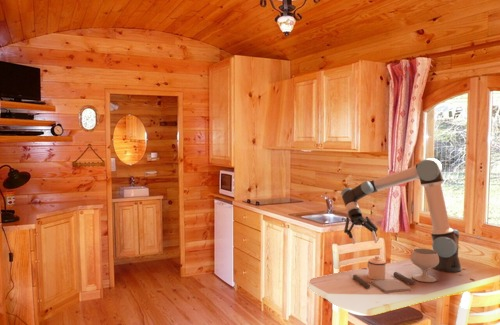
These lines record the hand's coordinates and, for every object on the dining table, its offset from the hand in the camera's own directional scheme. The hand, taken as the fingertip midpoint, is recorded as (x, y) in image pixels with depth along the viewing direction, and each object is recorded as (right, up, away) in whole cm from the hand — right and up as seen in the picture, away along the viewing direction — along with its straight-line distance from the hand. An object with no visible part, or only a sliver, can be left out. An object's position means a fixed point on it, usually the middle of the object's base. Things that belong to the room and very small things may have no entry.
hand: (365, 242), depth 233 cm
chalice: (+28, -17, -13) cm, 35 cm away
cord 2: (+16, -17, -14) cm, 27 cm away
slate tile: (+6, -18, -24) cm, 30 cm away
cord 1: (-8, -17, -20) cm, 27 cm away
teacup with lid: (+2, -17, -10) cm, 20 cm away
